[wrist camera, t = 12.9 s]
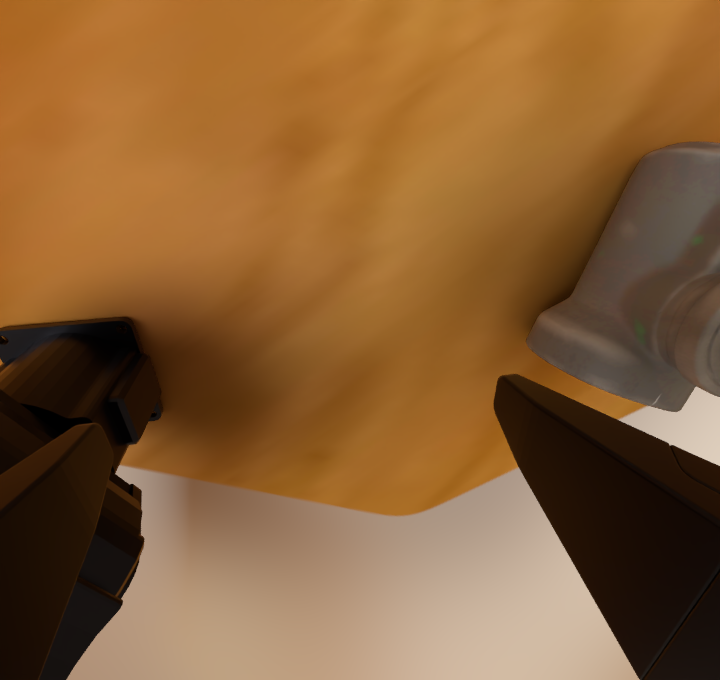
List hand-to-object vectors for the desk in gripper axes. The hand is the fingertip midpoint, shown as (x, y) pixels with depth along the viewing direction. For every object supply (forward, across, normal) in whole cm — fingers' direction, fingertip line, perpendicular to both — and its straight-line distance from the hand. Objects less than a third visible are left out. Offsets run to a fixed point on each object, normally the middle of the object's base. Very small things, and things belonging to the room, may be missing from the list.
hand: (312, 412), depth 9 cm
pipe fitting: (+13, -18, +2) cm, 22 cm away
